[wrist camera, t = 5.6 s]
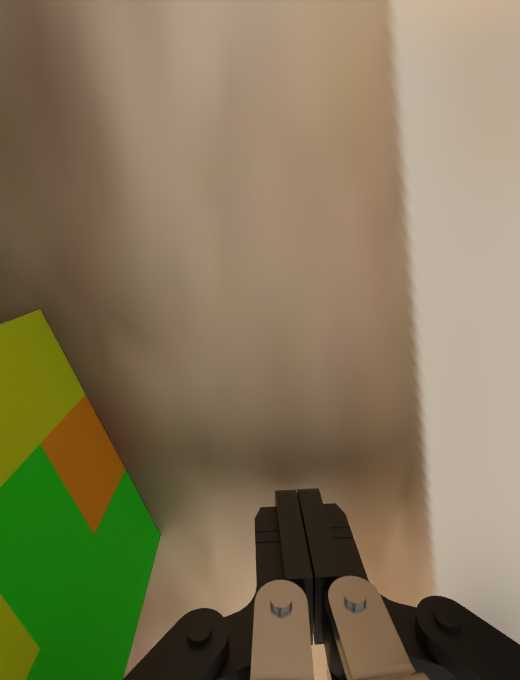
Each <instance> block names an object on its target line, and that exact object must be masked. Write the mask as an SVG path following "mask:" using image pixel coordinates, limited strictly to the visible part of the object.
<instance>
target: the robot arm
mask: <svg viewBox="0 0 520 680" xmlns="http://www.w3.org/2000/svg"><path fill="white" fill-rule="evenodd" d="M255 542H256V573H257V589H256V593H255V595H254V597H253V599H252V601H251V602H250V603H249V604H248V605H247V606H246V607H245V608H243V609H242V610H240V611H238V612H236V613H234V614H232V615H229V616H226V617H223V616H222V615H221V614H220V613H219V612H217V611H215V610H213V609H208V608H200V609H196V610H192V611H190V612H188V613H187V614H185V615H184V616H183V617H182V618H181V619H180V620H179V621H178V622H177V623H176V624H175V625H174V626H173V627H172V628H171V629H170V630H169V631H168V632H167V633H166V634H165V636H164V637H163V638H162V639H161V640H160V641H159V642H158V643H157V644H156V645H155V646H154V647H153V648H152V649H151V650H150V651H149V652H148V654H147V655H146V656H145V657H144V658H143V659H142V660H141V661H140V662H139V663H138V664H137V665H136V666H135V667H134V668H133V669H132V670H131V672H130V673H129V674H128V675H127V676H126V677H125V678H124V679H123V680H314V673H313V661H312V649H311V645H313V636H314V642H315V644H324V646H325V651H326V656H327V678H328V680H520V645H519V644H518V643H516V642H515V641H513V640H512V639H510V638H509V637H507V636H506V635H505V634H503V633H502V632H500V631H499V630H497V629H496V628H494V627H493V626H491V625H490V624H488V623H487V622H485V621H484V620H482V619H481V618H479V617H478V616H476V615H475V614H473V613H472V612H470V611H469V610H468V609H466V608H465V607H463V606H462V605H460V604H459V603H457V602H455V601H453V600H451V599H448V598H446V597H442V596H429V597H426V598H424V599H423V600H421V601H420V603H419V604H418V606H417V608H416V607H412V606H408V605H404V604H400V603H396V602H393V601H391V600H388V599H387V598H385V597H383V596H382V595H381V594H379V592H378V590H377V589H376V588H375V587H374V586H373V585H372V584H371V583H370V582H369V580H368V578H367V575H366V572H365V569H364V566H363V564H362V561H361V558H360V555H359V552H358V549H357V546H356V543H355V541H354V539H353V535H352V532H351V529H350V526H349V523H348V520H347V517H346V515H345V513H344V512H343V511H342V510H341V509H340V508H339V507H338V506H337V505H336V504H335V503H334V504H323V502H322V499H321V495H320V491H319V489H318V488H317V489H297V492H296V490H279V491H275V507H261V508H260V510H259V512H258V513H257V515H256V517H255Z"/></svg>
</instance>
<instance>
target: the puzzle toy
mask: <svg viewBox="0 0 520 680" xmlns="http://www.w3.org/2000/svg"><path fill="white" fill-rule="evenodd" d="M160 536H161V535H160V533H159V531H158V529H157V527H156V525H155V524H154V522H153V520H152V518H151V516H150V514H149V512H148V510H147V508H146V507H145V505H144V503H143V501H142V499H141V497H140V495H139V493H138V492H137V490H136V488H135V486H134V484H133V482H132V480H131V478H130V477H129V475H128V473H127V471H126V469H125V467H124V465H123V463H122V462H121V460H120V458H119V456H118V454H117V452H116V450H115V448H114V447H113V445H112V443H111V441H110V439H109V437H108V435H107V433H106V432H105V430H104V428H103V426H102V424H101V422H100V420H99V418H98V417H97V415H96V413H95V411H94V409H93V407H92V405H91V403H90V401H89V400H88V398H87V396H86V394H85V392H84V390H83V388H82V386H81V385H80V383H79V381H78V379H77V377H76V375H75V373H74V371H73V370H72V368H71V366H70V364H69V362H68V360H67V358H66V356H65V355H64V353H63V351H62V349H61V347H60V345H59V343H58V341H57V340H56V338H55V336H54V334H53V332H52V330H51V328H50V326H49V325H48V323H47V321H46V319H45V317H44V315H43V313H42V311H41V310H40V309H39V310H36V311H34V312H31V313H28V314H25V315H23V316H20V317H17V318H15V319H12V320H9V321H7V322H4V323H1V324H0V680H123V678H124V674H125V670H126V666H127V663H128V659H129V655H130V651H131V647H132V643H133V640H134V636H135V632H136V628H137V624H138V620H139V617H140V613H141V609H142V605H143V601H144V597H145V594H146V590H147V586H148V582H149V578H150V574H151V571H152V567H153V563H154V559H155V555H156V551H157V548H158V544H159V540H160Z"/></svg>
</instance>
